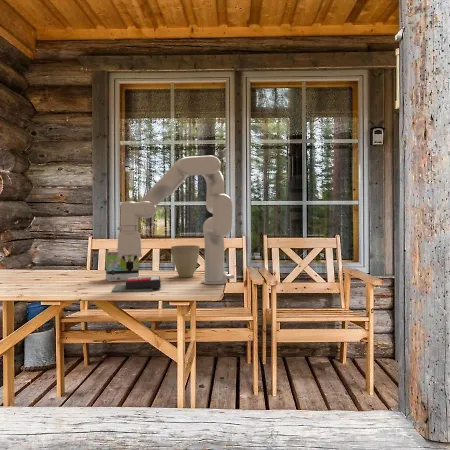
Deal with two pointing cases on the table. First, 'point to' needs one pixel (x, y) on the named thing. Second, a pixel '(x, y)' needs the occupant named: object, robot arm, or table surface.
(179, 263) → the plant pot
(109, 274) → the tea box
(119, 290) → the mat
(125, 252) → the robot arm
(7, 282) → the table surface
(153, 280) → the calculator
